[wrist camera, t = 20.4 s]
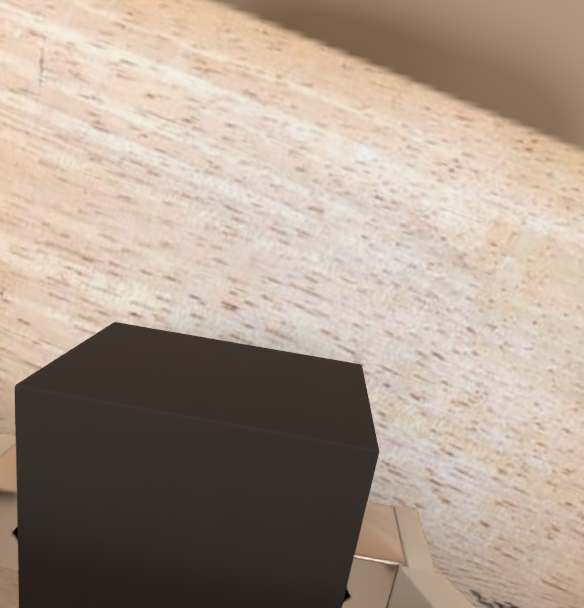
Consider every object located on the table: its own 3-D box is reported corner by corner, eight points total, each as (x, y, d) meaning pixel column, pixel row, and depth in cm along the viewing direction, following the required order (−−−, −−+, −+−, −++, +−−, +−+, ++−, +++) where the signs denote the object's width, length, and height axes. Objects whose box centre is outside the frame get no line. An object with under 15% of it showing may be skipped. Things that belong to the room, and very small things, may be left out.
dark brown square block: (362, 363, 10) (380, 450, 7) (319, 565, 12) (316, 716, 8) (114, 321, 10) (12, 384, 7) (104, 525, 12) (18, 657, 9)
